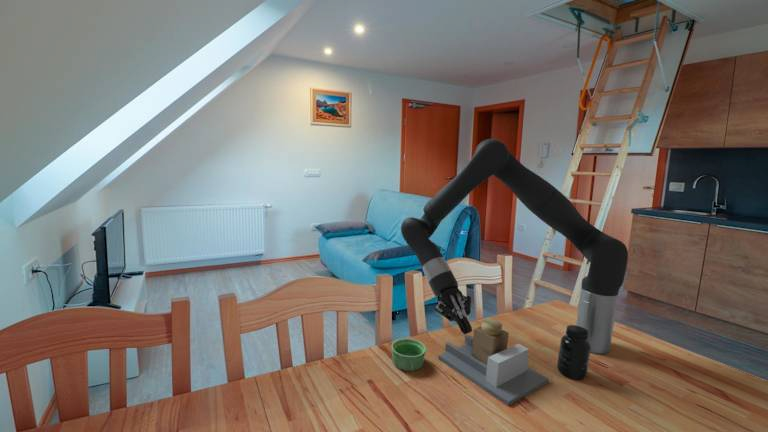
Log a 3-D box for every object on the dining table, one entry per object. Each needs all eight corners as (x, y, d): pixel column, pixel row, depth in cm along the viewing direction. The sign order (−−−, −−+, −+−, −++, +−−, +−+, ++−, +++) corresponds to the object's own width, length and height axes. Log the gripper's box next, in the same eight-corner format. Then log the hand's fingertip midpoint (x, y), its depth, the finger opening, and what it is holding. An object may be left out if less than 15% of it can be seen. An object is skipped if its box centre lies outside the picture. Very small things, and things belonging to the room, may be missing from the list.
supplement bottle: (590, 382, 89) (597, 337, 87) (561, 378, 90) (566, 333, 88) (581, 367, 95) (587, 324, 94) (554, 363, 97) (559, 321, 95)
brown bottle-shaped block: (486, 354, 97) (489, 316, 96) (505, 365, 93) (509, 325, 91) (471, 361, 94) (474, 321, 92) (490, 372, 89) (493, 331, 87)
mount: (475, 341, 107) (477, 319, 106) (548, 382, 88) (551, 355, 87) (435, 356, 98) (437, 332, 97) (507, 405, 79) (510, 376, 78)
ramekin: (385, 367, 92) (386, 351, 92) (397, 350, 101) (398, 335, 100) (419, 376, 89) (420, 360, 88) (429, 358, 97) (430, 343, 96)
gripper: (429, 273, 99) (459, 333, 92) (462, 266, 107) (492, 321, 99) (416, 286, 104) (443, 344, 97) (448, 278, 112) (476, 331, 104)
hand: (468, 332), depth 98 cm, fingers closed
